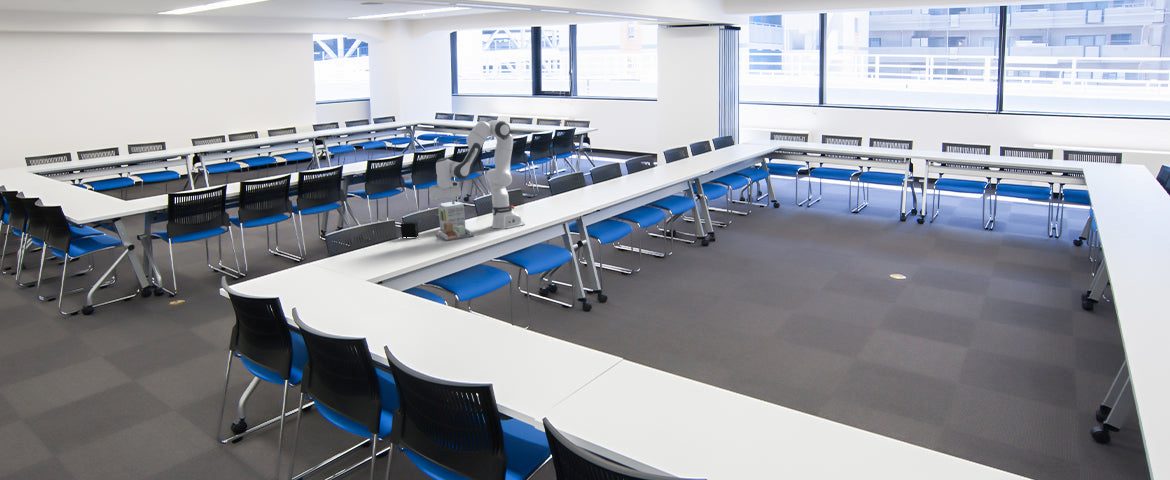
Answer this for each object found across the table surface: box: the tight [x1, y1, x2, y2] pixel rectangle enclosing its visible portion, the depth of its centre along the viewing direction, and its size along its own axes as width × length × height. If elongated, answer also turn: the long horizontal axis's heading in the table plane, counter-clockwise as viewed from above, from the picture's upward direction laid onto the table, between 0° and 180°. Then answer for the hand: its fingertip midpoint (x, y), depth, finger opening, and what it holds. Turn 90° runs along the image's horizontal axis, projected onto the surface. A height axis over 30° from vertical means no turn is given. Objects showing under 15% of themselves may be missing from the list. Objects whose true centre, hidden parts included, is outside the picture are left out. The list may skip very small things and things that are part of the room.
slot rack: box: [436, 225, 474, 242], centre depth 493 cm, size 19×18×6 cm
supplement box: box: [437, 201, 467, 231], centre depth 512 cm, size 13×13×18 cm
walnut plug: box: [443, 222, 454, 237], centre depth 490 cm, size 6×4×8 cm, turn 29°
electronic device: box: [400, 221, 420, 239], centre depth 494 cm, size 4×10×10 cm, turn 78°
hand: (446, 205), depth 487 cm, fingers open, 8 cm apart
